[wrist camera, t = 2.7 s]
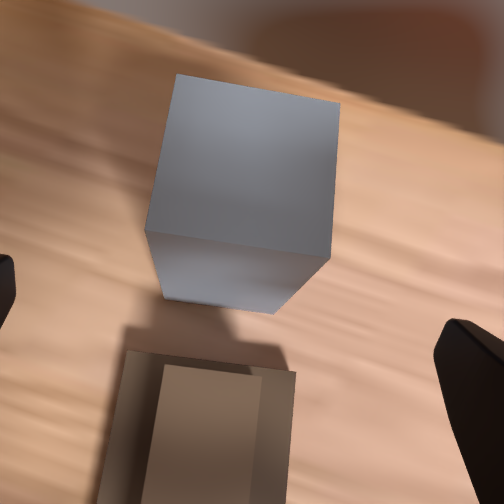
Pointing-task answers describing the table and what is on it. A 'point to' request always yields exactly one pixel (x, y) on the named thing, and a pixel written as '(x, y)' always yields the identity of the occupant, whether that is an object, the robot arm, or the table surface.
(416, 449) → the table surface
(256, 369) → the walnut ridge
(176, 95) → the slate post
